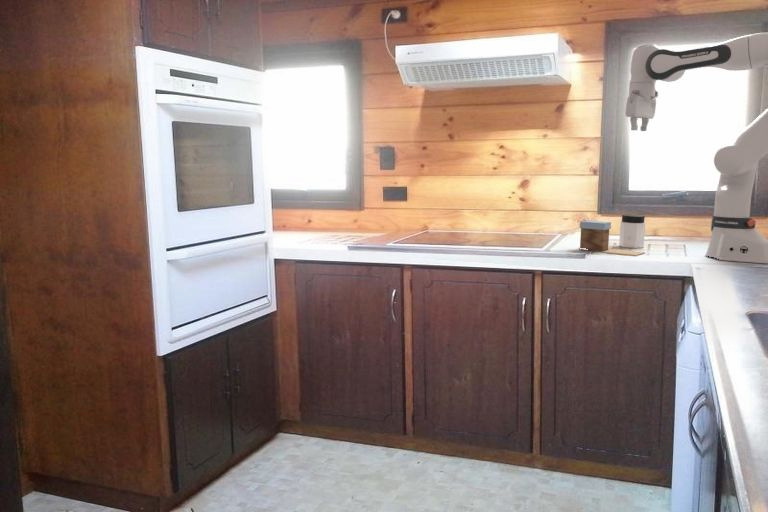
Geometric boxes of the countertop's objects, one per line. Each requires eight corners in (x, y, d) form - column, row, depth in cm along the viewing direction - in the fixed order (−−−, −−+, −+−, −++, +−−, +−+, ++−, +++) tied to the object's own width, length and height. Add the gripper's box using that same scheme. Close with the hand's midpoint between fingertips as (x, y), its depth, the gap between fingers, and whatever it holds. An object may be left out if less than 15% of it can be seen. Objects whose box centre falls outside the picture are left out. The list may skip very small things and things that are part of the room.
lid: (610, 231, 257) (611, 222, 257) (604, 233, 253) (604, 223, 252) (586, 229, 263) (586, 220, 262) (579, 231, 258) (580, 221, 258)
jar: (616, 247, 268) (618, 215, 266) (621, 244, 275) (623, 213, 273) (641, 248, 263) (643, 216, 262) (645, 246, 271) (647, 215, 269)
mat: (644, 253, 252) (644, 252, 252) (636, 256, 245) (636, 255, 245) (611, 250, 259) (611, 249, 259) (602, 252, 252) (602, 251, 252)
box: (608, 250, 258) (609, 228, 257) (602, 252, 254) (604, 229, 253) (585, 248, 264) (586, 226, 262) (579, 249, 259) (580, 228, 258)
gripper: (640, 89, 244) (637, 130, 246) (659, 93, 260) (656, 131, 262) (622, 90, 248) (619, 129, 250) (642, 93, 264) (639, 131, 266)
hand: (638, 130), depth 256 cm, fingers open, 8 cm apart
